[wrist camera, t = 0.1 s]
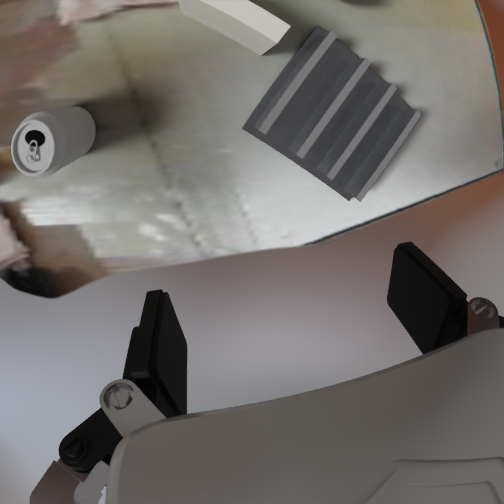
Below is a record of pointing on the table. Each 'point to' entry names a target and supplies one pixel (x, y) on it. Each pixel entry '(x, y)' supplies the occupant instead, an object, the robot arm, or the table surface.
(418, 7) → the table surface
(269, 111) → the dish rack
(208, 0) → the cream white block
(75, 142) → the can
